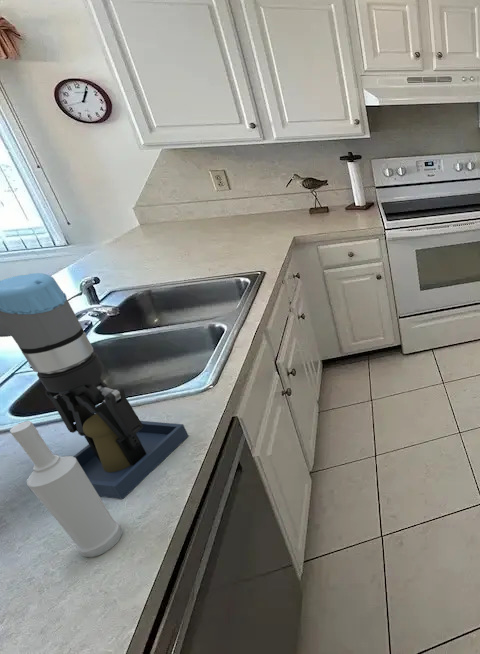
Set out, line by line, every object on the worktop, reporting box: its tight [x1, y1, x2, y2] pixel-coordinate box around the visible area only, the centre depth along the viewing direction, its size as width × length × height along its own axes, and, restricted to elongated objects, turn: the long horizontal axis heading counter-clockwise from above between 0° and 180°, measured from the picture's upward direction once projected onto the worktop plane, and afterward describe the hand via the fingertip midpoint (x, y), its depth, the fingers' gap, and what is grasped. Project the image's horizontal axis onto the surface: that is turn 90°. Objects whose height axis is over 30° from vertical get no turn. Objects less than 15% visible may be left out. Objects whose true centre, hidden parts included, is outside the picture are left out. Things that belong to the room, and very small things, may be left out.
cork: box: [83, 413, 130, 472], centre depth 78 cm, size 6×6×11 cm
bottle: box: [9, 420, 123, 558], centre depth 61 cm, size 5×5×25 cm
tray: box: [72, 420, 189, 500], centre depth 80 cm, size 15×15×3 cm
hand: (123, 457), depth 80 cm, fingers closed on cork, 6 cm apart
